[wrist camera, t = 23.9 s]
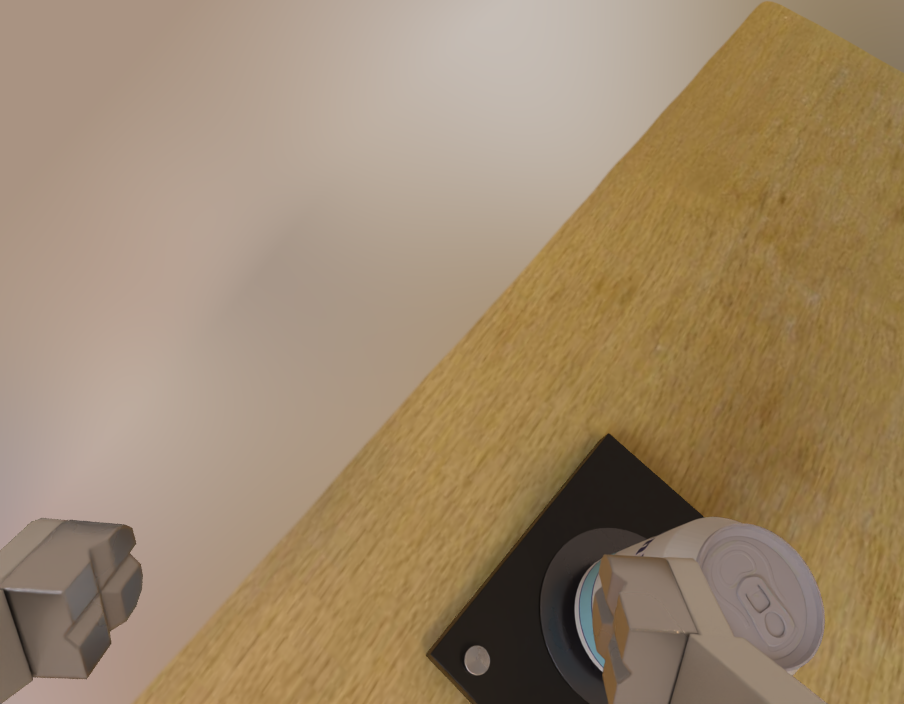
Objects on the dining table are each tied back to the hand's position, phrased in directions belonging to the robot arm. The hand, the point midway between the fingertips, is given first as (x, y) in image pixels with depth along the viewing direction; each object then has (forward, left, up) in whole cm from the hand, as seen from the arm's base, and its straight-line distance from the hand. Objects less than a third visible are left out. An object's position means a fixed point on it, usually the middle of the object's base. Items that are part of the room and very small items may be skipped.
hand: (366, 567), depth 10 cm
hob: (+17, 0, -25) cm, 30 cm away
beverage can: (+17, 0, -23) cm, 29 cm away
